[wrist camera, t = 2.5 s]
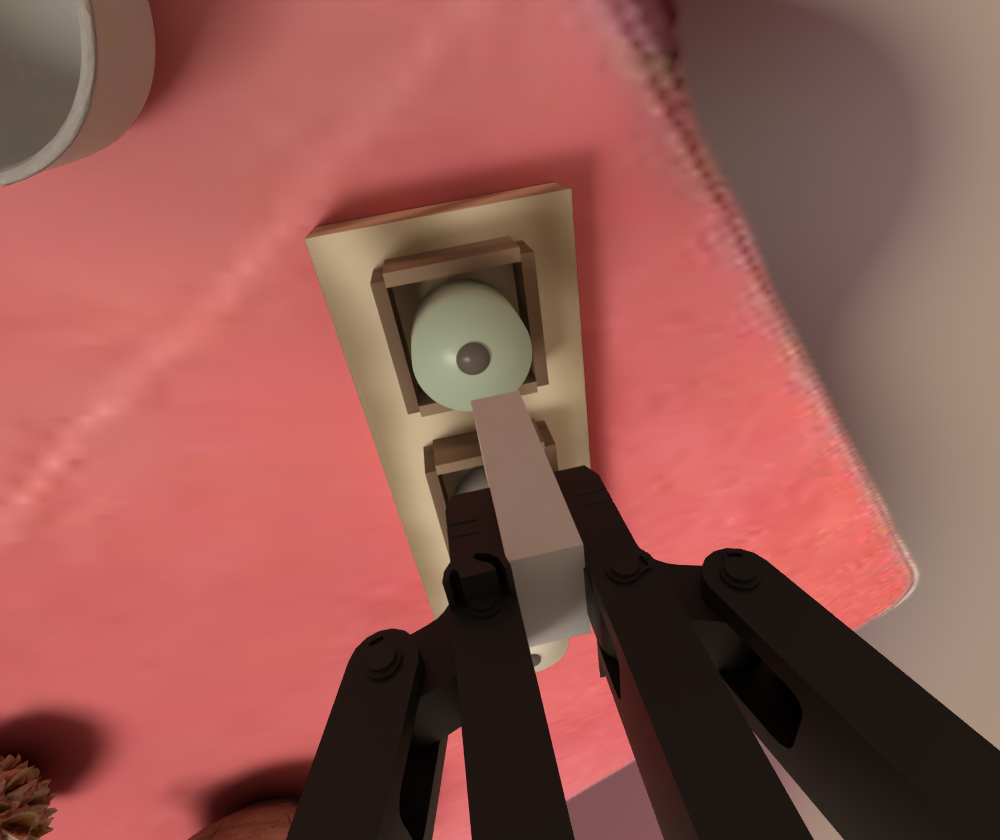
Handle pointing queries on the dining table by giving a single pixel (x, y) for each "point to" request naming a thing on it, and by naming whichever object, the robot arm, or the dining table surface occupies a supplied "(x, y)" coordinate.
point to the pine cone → (23, 801)
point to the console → (387, 339)
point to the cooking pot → (254, 822)
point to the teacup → (69, 79)
